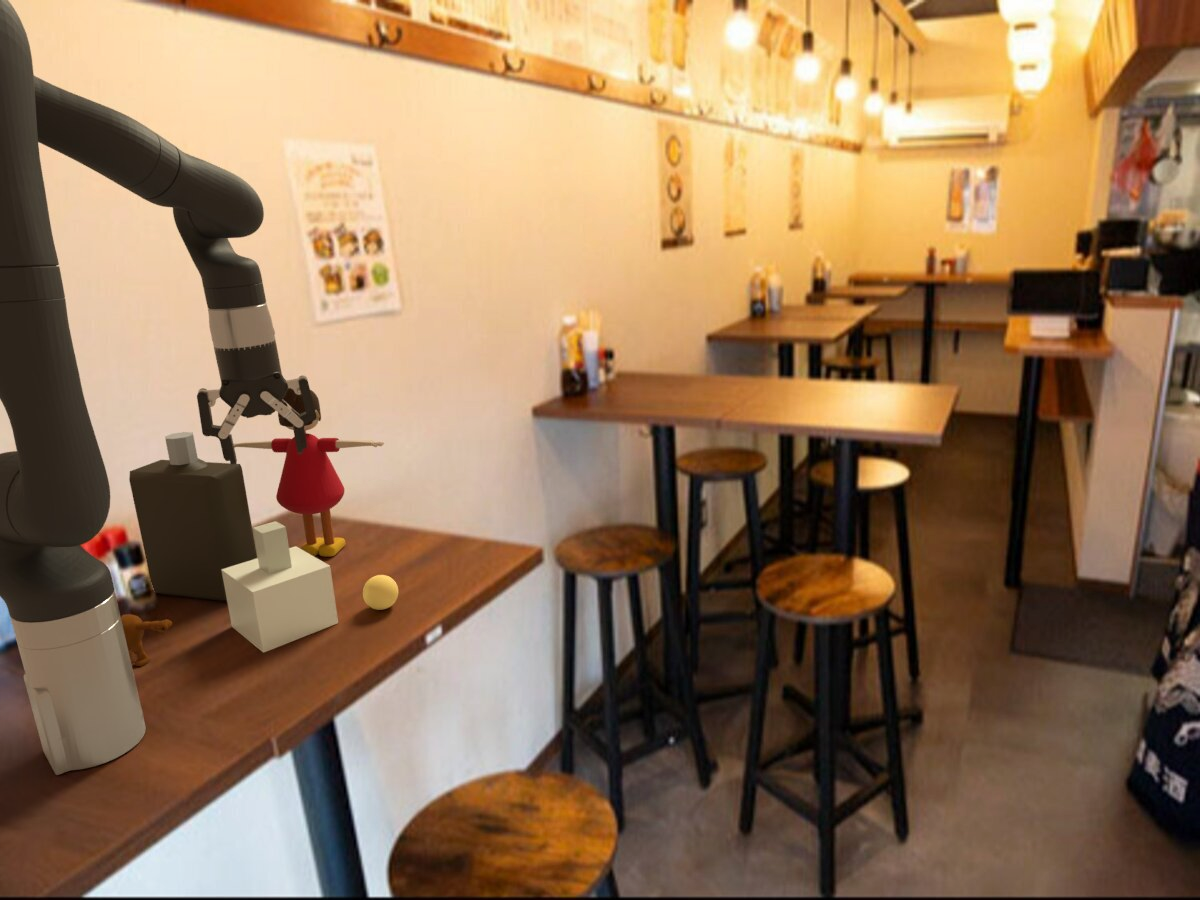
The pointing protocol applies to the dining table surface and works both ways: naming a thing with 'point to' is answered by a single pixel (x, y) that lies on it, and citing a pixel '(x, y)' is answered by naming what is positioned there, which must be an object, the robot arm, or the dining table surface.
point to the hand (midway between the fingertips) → (267, 457)
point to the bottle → (191, 520)
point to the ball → (380, 592)
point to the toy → (310, 477)
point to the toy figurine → (140, 635)
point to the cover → (279, 592)
